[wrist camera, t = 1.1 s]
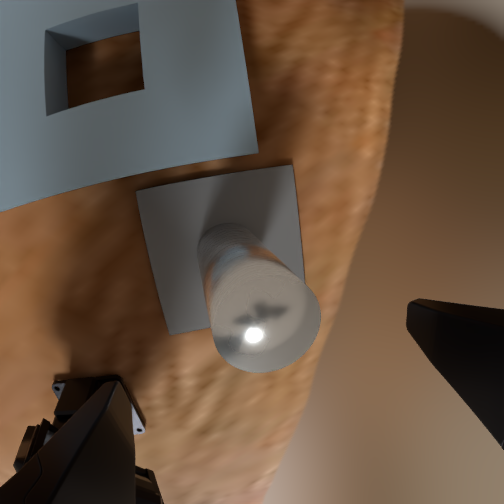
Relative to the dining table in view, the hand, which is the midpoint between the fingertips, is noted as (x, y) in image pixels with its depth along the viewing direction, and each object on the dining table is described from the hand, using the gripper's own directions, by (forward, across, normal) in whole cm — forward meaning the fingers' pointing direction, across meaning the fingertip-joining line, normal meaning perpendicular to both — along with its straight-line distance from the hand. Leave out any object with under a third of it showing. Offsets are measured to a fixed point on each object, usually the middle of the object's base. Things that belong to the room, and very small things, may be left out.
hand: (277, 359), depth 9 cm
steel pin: (+13, 0, 0) cm, 13 cm away
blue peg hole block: (+13, +5, -13) cm, 19 cm away
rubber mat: (+13, 0, 0) cm, 13 cm away
